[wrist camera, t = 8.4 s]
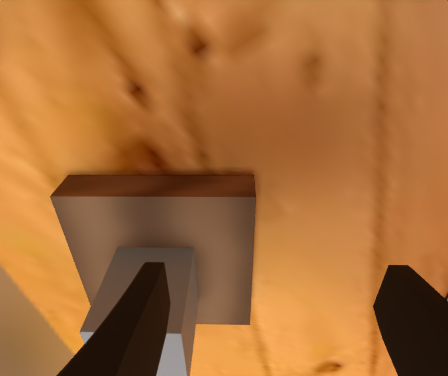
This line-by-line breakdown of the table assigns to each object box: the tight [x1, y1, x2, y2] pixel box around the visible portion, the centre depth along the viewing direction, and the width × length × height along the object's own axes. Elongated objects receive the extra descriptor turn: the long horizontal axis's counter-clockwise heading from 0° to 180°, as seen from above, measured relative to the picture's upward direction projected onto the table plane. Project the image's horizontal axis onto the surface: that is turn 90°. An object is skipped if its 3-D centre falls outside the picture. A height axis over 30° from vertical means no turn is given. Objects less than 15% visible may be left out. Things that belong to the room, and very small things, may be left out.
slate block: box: [80, 247, 199, 376], centre depth 20 cm, size 5×5×6 cm
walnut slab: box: [50, 175, 256, 325], centre depth 23 cm, size 12×12×3 cm
